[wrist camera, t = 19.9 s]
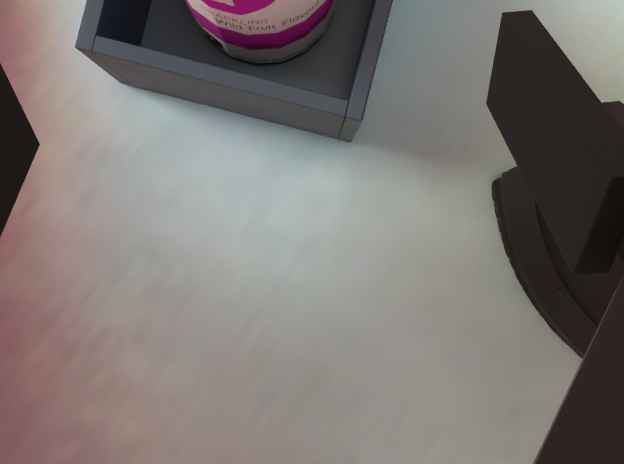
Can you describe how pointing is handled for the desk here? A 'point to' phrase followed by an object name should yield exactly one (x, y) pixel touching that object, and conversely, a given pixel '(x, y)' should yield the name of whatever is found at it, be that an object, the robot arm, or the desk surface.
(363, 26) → the bin
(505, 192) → the fan shaped piece
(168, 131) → the desk surface
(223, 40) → the supplement can
